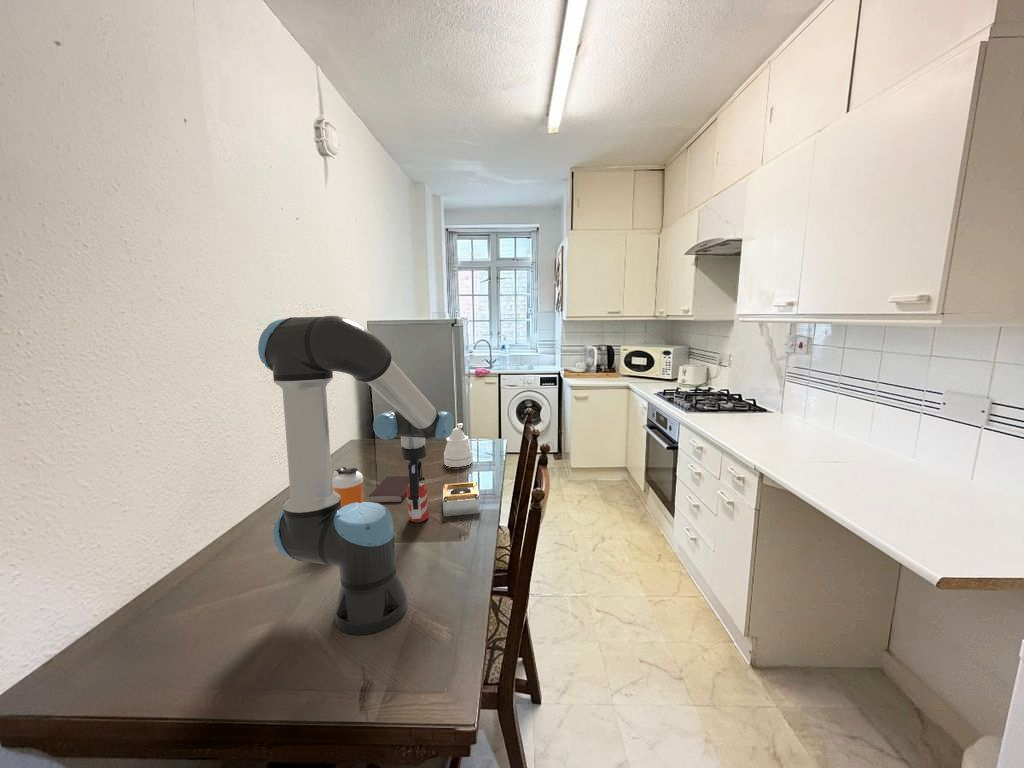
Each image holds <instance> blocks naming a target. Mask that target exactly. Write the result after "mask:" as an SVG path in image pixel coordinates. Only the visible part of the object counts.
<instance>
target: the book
mask: <svg viewBox="0 0 1024 768" xmlns="http://www.w3.org/2000/svg"><path fill="white" fill-rule="evenodd" d="M409 483H410V477H409V475H408V476H407V475H390V476H389V475H388V476H385V478H384V479H383V480H382V481H380V483H379V484H378V485H377V486H376V487H375V489H374V490H373V491H372V492H371V493H370V494H369V495H368V498H369V501H368V502H373V503H395V502H396V503H398V502H401V503H402V502H403V501H404V500H405V499H406V497H407V488H408V484H409Z"/></svg>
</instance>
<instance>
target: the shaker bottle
mask: <svg viewBox="0 0 1024 768" xmlns="http://www.w3.org/2000/svg"><path fill="white" fill-rule="evenodd" d="M358 470H359V468H356V467H347V466H342V467H340V468H338V469H335V470H333V472H332V473H333V474H332V475H333V476H332V486H333V491H335V492H336V493H338V494H339V495H340V498H341V508H342V507H344V506H346V505H348V504H352V503H357V502H358V503H362V502H364V489H363V485H364V484H363V483H364V477H363V476H364V475H363V473H361V472H360V471H358Z"/></svg>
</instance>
